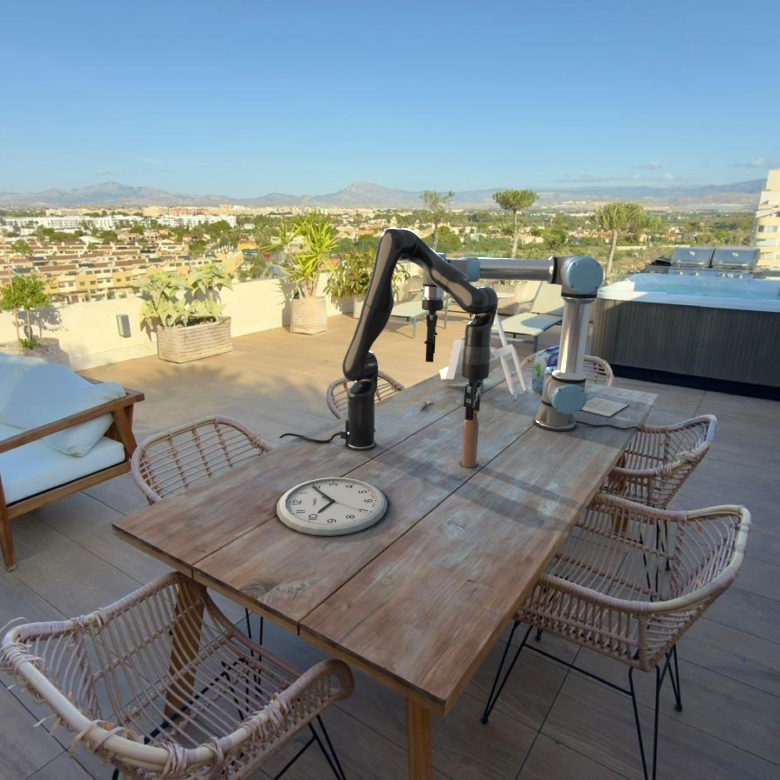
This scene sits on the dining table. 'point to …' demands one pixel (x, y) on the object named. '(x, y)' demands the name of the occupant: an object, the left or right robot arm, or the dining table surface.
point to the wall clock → (331, 506)
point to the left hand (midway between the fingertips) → (472, 415)
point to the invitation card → (603, 406)
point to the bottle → (470, 442)
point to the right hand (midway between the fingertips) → (430, 357)
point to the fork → (427, 403)
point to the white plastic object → (497, 357)
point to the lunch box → (543, 366)
